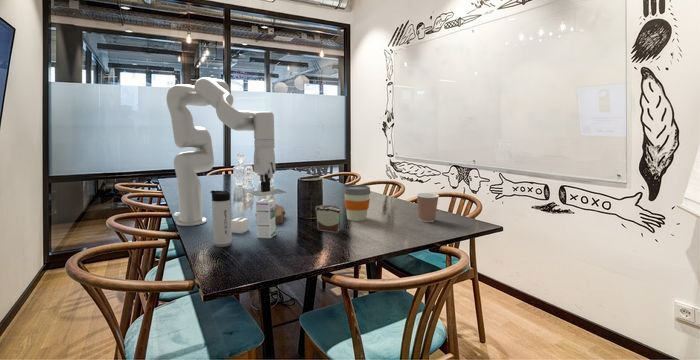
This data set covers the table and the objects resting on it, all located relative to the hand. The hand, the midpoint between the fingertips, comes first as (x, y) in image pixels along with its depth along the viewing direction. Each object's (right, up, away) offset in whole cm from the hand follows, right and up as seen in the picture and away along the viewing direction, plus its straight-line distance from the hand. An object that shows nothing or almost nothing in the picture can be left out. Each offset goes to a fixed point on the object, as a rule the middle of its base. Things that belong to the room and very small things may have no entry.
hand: (265, 191), depth 147 cm
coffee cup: (+69, -15, +30) cm, 76 cm away
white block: (-13, -17, +9) cm, 23 cm away
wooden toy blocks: (-4, -15, +28) cm, 32 cm away
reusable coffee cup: (+36, -14, +32) cm, 50 cm away
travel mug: (-14, -19, -8) cm, 25 cm away
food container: (+25, -17, +13) cm, 33 cm away
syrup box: (0, -18, +3) cm, 18 cm away
